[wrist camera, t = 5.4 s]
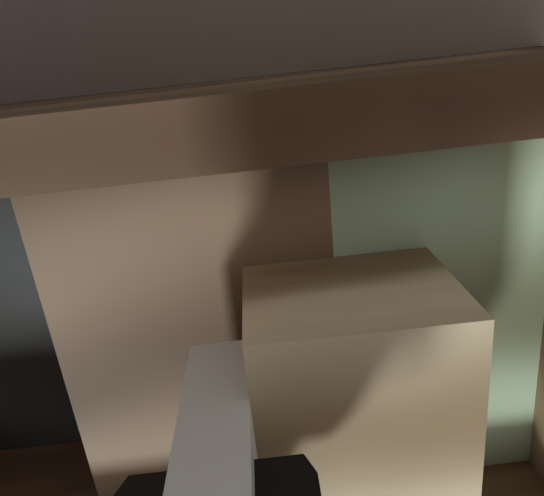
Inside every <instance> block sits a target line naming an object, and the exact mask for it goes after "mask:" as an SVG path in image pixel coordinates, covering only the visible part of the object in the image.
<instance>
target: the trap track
mask: <svg viewBox="0 0 544 496" xmlns="http://www.w3.org/2000/svg"><path fill="white" fill-rule="evenodd" d="M425 247H427V248H428V249H429V250H430V251H431V253H432V254H433V255H434V256H435V257H436V258H437V259H438V260H439V261H440V262H441V263H442V264H443V265H444V266H445V267H446V269H447V270H448V271H449V272H450V273H451V274H452V275H453V276H454V277H455V278H456V279H457V280H458V281H459V282H460V283H461V284H462V286H463V287H464V288H465V289H466V290H467V291H468V292H469V293H470V294H471V295H472V296H473V297H474V298H475V299H476V300H477V302H478V303H479V304H480V305H481V306H482V307H483V308H484V309H485V310H486V311H487V312H488V313H489V314H490V315H491V316H492V318H493V319H494V320H495V321H494V334H493V348H492V361H491V374H490V388H489V401H488V415H487V428H486V441H485V455H484V468H483V481H482V495H481V496H544V46H538V47H528V48H519V49H510V50H501V51H492V52H482V53H473V54H464V55H455V56H446V57H436V58H427V59H418V60H409V61H400V62H390V63H381V64H372V65H363V66H354V67H345V68H335V69H326V70H317V71H308V72H299V73H289V74H280V75H271V76H262V77H253V78H243V79H234V80H225V81H216V82H207V83H197V84H188V85H179V86H170V87H161V88H151V89H142V90H133V91H124V92H115V93H106V94H96V95H87V96H78V97H69V98H60V99H50V100H41V101H32V102H23V103H14V104H4V105H0V496H113V495H114V494H115V493H116V491H117V490H118V489H119V487H120V486H121V485H122V483H123V482H124V481H125V479H126V478H127V477H128V475H136V474H145V473H154V472H162V471H167V469H168V464H169V458H170V453H171V448H172V442H173V437H174V431H175V426H176V420H177V415H178V410H179V404H180V399H181V393H182V388H183V382H184V377H185V372H186V366H187V361H188V355H189V350H190V346H192V345H201V344H210V343H219V342H229V341H238V340H242V276H243V267H246V266H255V265H264V264H274V263H283V262H293V261H302V260H312V259H321V258H331V257H340V256H349V255H359V254H368V253H378V252H387V251H397V250H406V249H415V248H425Z"/></svg>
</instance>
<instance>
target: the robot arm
mask: <svg viewBox="0 0 544 496" xmlns="http://www.w3.org/2000/svg"><path fill="white" fill-rule="evenodd" d="M113 496H322V495H321V490H320V484H319V478H318V473H317V471H316V470H315V468H314V467H313V466H312V464H311V463H310V462H309V460H308V459H307V458H306V456H305V455H304V454H296V455H288V456H279V457H270V458H262V459H258V457H257V450H256V443H255V435H254V428H253V421H252V413H251V406H250V401H249V396H248V388H247V381H246V373H245V366H244V358H243V351H242V340H238V341H229V342H219V343H210V344H201V345H192V346H190V350H189V355H188V361H187V366H186V372H185V377H184V382H183V388H182V393H181V399H180V404H179V410H178V415H177V420H176V426H175V431H174V437H173V442H172V448H171V453H170V458H169V464H168V469H167V471H162V472H154V473H145V474H136V475H128V477H127V478H126V479H125V481H124V482H123V483H122V485H121V486H120V487H119V489H118V490H117V491H116V493H115V494H114V495H113Z"/></svg>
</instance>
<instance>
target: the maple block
mask: <svg viewBox="0 0 544 496" xmlns="http://www.w3.org/2000/svg"><path fill="white" fill-rule="evenodd" d="M494 321H495V320H494V319H493V318H492V316H491V315H490V314H489V313H488V312H487V311H486V310H485V309H484V308H483V307H482V306H481V305H480V304H479V303H478V302H477V300H476V299H475V298H474V297H473V296H472V295H471V294H470V293H469V292H468V291H467V290H466V289H465V288H464V287H463V286H462V284H461V283H460V282H459V281H458V280H457V279H456V278H455V277H454V276H453V275H452V274H451V273H450V272H449V271H448V270H447V269H446V267H445V266H444V265H443V264H442V263H441V262H440V261H439V260H438V259H437V258H436V257H435V256H434V255H433V254H432V253H431V251H430V250H429V249H428V248H427V247H425V248H415V249H406V250H397V251H387V252H378V253H368V254H359V255H349V256H340V257H331V258H321V259H312V260H302V261H293V262H283V263H274V264H264V265H255V266H246V267H243V276H242V351H243V358H244V366H245V373H246V381H247V388H248V396H249V401H250V406H251V413H252V421H253V428H254V435H255V443H256V450H257V457H258V459H262V458H270V457H279V456H288V455H296V454H304V455H305V456H306V458H307V459H308V460H309V462H310V463H311V464H312V466H313V467H314V468H315V470H316V471H317V473H318V478H319V484H320V490H321V495H322V496H481V495H482V481H483V468H484V455H485V441H486V428H487V415H488V401H489V388H490V374H491V361H492V348H493V334H494Z"/></svg>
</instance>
